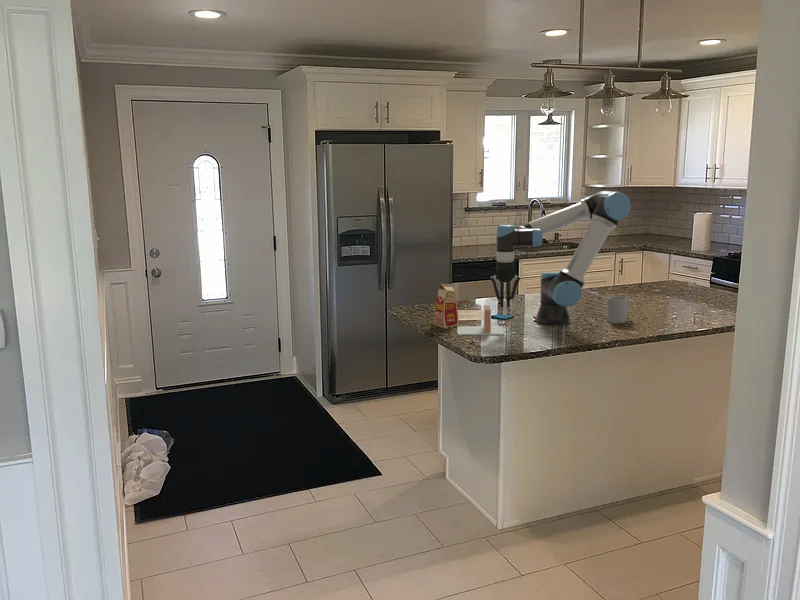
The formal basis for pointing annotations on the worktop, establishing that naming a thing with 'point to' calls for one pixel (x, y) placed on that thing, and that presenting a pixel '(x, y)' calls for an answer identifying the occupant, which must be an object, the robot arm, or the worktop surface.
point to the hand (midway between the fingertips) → (504, 314)
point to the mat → (479, 330)
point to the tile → (487, 319)
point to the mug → (617, 309)
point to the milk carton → (446, 307)
